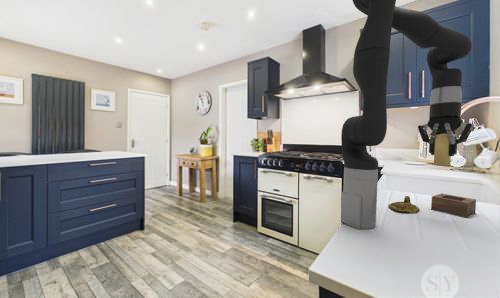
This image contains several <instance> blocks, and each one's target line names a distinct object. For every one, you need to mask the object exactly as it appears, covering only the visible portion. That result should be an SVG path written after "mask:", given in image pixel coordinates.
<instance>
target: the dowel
mask: <svg viewBox="0 0 500 298" xmlns="http://www.w3.org/2000/svg"><path fill="white" fill-rule="evenodd" d="M449 144H451V143H450V140H449V137H448V135H447V134H440V135H436V137H435V149H434V155H433V166H443V167H450V166H451V158H452V156H449Z"/></svg>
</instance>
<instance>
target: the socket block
mask: <svg viewBox="0 0 500 298" xmlns="http://www.w3.org/2000/svg"><path fill="white" fill-rule="evenodd" d="M430 205H431V207H430V208H431V209H430V210H431V211H436V212H440V213H444V214H449V215H453V216H458V217H462V218H466V219H467V218H469V217H471V216H473V215H474V214H476V210H477V209H476V207H477V199H475V198H469V197H464V196H460V195H459V196H457V195H452V194H445V193H439V194H436V195H432V196H431V204H430Z"/></svg>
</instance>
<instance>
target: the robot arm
mask: <svg viewBox="0 0 500 298" xmlns="http://www.w3.org/2000/svg"><path fill="white" fill-rule="evenodd" d="M352 3H353V5H354V7H355V8H356V9H357V10H358V11H359V12H361V13H362V14H364V15H365V16H367V17H366V20H365V23H364V26H363V27H362V30H361V33H360V35H359V37H358V40H357V42H356V46H355V48H354V52H353V53H354V54H353V63H352V64H353V65H352V73H353V77H354V81H356V84H357V86H358V87H359V89H360V91H361V95H362V99H363V103H362V104H363V105H362V113H361V114H362V115H356V116H352V117H351V116H350V117H348V118H346V120H345V121H344V123H343V124H342V128H341V136H340V137H341V141H340V142H341V157H342V160H343V163H344V165H343V167H344V168H343V190H342V191H341V201H340V202H341V203H340V204H341V206H340V209H341V211H340V222H341V223H343V222H344V223H343V224H345V225H347V226H350V227H353V228H354V229H355V228H356V229H357V230H360V229H365V230H366V229H374V228H376V225H377V202H378V201H377V200H378V182H379V181H378V178H379V161H378V159H377V158H375V157H374V156H372V155H371V154H370V153H369V151H368V149H367V147H375V146H379V145H380V144H381V143H383V141H384V140H385V138H386V134H387V128H388V120H387V119H388V114H387V113H388V112H387V108H388V107H387V87H388V72H389V64H390V54H391V53H390V52H391V51H390V50H391V38H392V37H391V36H392V30H396V31H397V32H399V33H400V34H401V35H403V36H405V37H406V38H407V39H408V40H410V41H411V42H412V43H414V44H415V45H416V46H417V47H418V48H421V49H429V48H430V49H429V50H428V51H427V55H426V62H427V66H428V69H429V72H430V73H429V74H431V91H430V98H429V113H428V114H429V115H428V117H429V118H428V122H427V123H426V124H421V125H418V126H417V129H418V131H419V135H420V137H421V140H422V142H424V143H428V145H429V146H428V152H429V154H430V155H431V156H434V149H435V137H436V135H448V137H449V140H450V143H451V144H449V156H451V157H454V156H455V155H457V154H458V145H459V144H462V143H466V142H467V140H468V138H469V136H470V134H471V133H472V131H473V129H474V127H475V124H474V123H470V122H469V123H468V122H463V120H462V119H461V118H462V102H463V94H462V93H463V92H462V80H463V79H462V78H463V76H462V75H463V72H462V70H461V69H460V68H456V67H453V68H449V67H448V64H449V63H453V62H454V61H458V60H460V59H463V58H465V57H467V56H468V55H469V54H470V53H471V51H472V46H473V44H472V41H471V39H470V38H469V36H467V35H466V34H464V33H463V32H460V31H457V30H453V29H451V28H449V27H445V26H443V25H441V24H440V23H439V22H438V21H437V20H435V18H433V17H432V16H431V15H429V14H428V13H425V12H422V11H420V10H419V11H418V10H413V9H410V8H409V9H408V8H403V7H400V6H396V3H397V0H352ZM460 127H461V130H462V132H461V133H460V136H459V138H458V137H457V132H456V131H457V130H458V129H459V128H460ZM429 129H430V130H431V133H430V137H429V134H428V130H429Z"/></svg>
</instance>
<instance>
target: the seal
mask: <svg viewBox="0 0 500 298" xmlns="http://www.w3.org/2000/svg"><path fill="white" fill-rule="evenodd" d="M387 207H388V209H389V210H391V211H392V212H394V213H397V214H398V213H399V214H400V213H401V214H406V215H409V214H410V215H412V214H418V213H420V207H419V206H417V205H416V204H413V203H412V202H411V197H410V196H409V195H405V196H404V199H403V201H395V202H391V203H389V204H388V206H387Z"/></svg>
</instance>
